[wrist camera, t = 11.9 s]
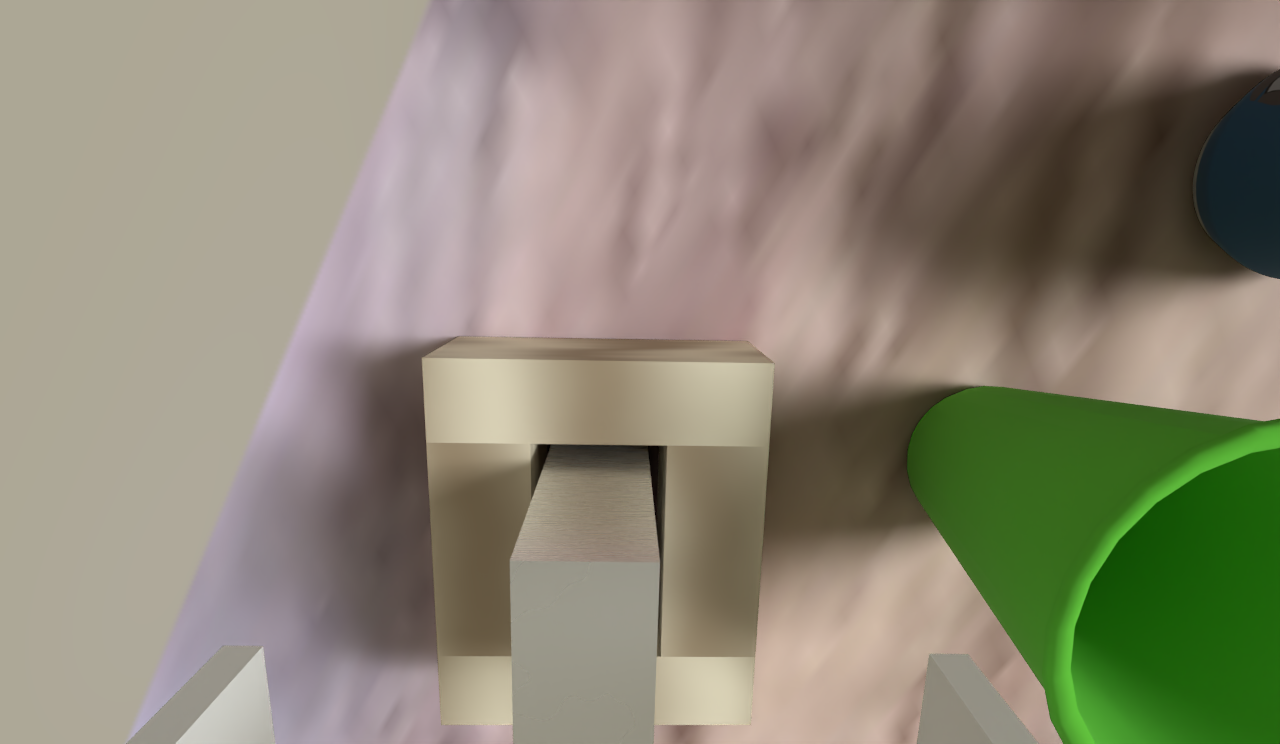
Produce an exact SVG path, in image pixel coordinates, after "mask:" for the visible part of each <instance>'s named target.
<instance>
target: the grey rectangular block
mask: <svg viewBox="0 0 1280 744" xmlns="http://www.w3.org/2000/svg"><path fill="white" fill-rule="evenodd" d="M659 577H660V558H659V548H658V539H657V530H656V521H655V511H654V502H653V493H652V484H651V474H650V465H649V456H648V446H647V445H581V444H552V445H551V447H550V450H549V453H548V456H547V459H546V461H545V464H544V467H543V470H542V472H541V475H540V478H539V481H538V484H537V486H536V489H535V492H534V495H533V497H532V500H531V503H530V506H529V508H528V511H527V514H526V517H525V520H524V522H523V525H522V528H521V531H520V533H519V536H518V539H517V542H516V545H515V547H514V550H513V553H512V556H511V558H510V603H511V657H512V710H513V744H654V717H655V689H656V661H657V633H658V605H659Z"/></svg>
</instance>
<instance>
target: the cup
mask: <svg viewBox="0 0 1280 744" xmlns="http://www.w3.org/2000/svg"><path fill="white" fill-rule="evenodd" d="M907 472H908V477H909V481H910V486H911V488H912V490H913V492H914V493H915V495H916V497H917V499H918V501H919V502H920V504H921V505H922V507H923V508H924V510H925V511H926V513H927V514H928V516H929V517H930V519H931V520H932V522H933V523H934V525H935V526H936V528H937V529H938V531H939V532H940V534H941V535H942V537H943V538H944V540H945V541H946V543H947V544H948V546H949V547H950V549H951V550H952V552H953V553H954V555H955V556H956V558H957V559H958V561H959V562H960V564H961V565H962V567H963V568H964V570H965V571H966V573H967V574H968V576H969V577H970V579H971V580H972V582H973V583H974V585H975V586H976V588H977V589H978V591H979V592H980V594H981V595H982V597H983V598H984V600H985V601H986V603H987V604H988V606H989V607H990V609H991V610H992V612H993V613H994V615H995V616H996V618H997V619H998V621H999V622H1000V624H1001V625H1002V626H1003V628H1004V629H1005V631H1006V632H1007V634H1008V635H1009V637H1010V638H1011V640H1012V641H1013V643H1014V644H1015V646H1016V647H1017V649H1018V650H1019V652H1020V653H1021V655H1022V656H1023V658H1024V659H1025V661H1026V662H1027V664H1028V665H1029V667H1030V668H1031V670H1032V671H1033V673H1034V674H1035V676H1036V677H1037V679H1038V680H1039V682H1040V683H1041V685H1042V686H1043V688H1044V689H1045V694H1046V699H1047V704H1048V709H1049V714H1050V719H1051V721H1052V723H1053V725H1054V727H1055V729H1056V731H1057V733H1058V734H1059V736H1060V738H1061V740H1062V742H1063V744H1280V419H1276V420H1270V421H1257V420H1249V419H1242V418H1234V417H1226V416H1219V415H1211V414H1204V413H1196V412H1188V411H1181V410H1173V409H1166V408H1158V407H1150V406H1143V405H1135V404H1127V403H1120V402H1112V401H1105V400H1097V399H1089V398H1082V397H1074V396H1066V395H1059V394H1051V393H1044V392H1036V391H1028V390H1021V389H1013V388H1006V387H993V386H981V387H976V388H970V389H966V390H963V391H961V392H958V393H956V394H954V395H951V396H949V397H946V398H944V399H943V400H942V401H940V402H939V403H937V404H936V405H935V406H933V407H932V408H931V409H930V410H929V411H928V412H927V413H926V414H925V415H924V416H923V417H922V419H921V420H920V421H919V423H918V425H917V426H916V428H915V430H914V432H913V433H912V436H911V440H910V443H909V447H908V454H907Z"/></svg>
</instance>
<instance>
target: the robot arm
mask: <svg viewBox="0 0 1280 744" xmlns="http://www.w3.org/2000/svg"><path fill="white" fill-rule="evenodd" d="M126 744H275V738H274V730H273V722H272V714H271V706H270V698H269V690H268V683H267V675H266V667H265V659H264V651H263V646H223V647H222V648H221V649H220V650H219V651H218V652H217V653H216V654H215V655H214V656H213V657H212V658H211V659H210V660H209V661H208V662H207V663H206V664H205V665H204V666H203V667H202V668H201V669H200V670H199V671H198V672H197V673H196V674H195V675H194V676H193V677H192V678H191V679H190V680H189V681H188V682H187V683H186V684H185V685H184V686H183V687H182V688H181V689H180V690H179V691H178V692H177V693H176V694H175V695H174V696H173V697H172V698H171V699H170V700H169V701H168V702H167V703H166V704H165V705H164V706H163V707H162V708H161V709H160V710H159V711H158V712H157V713H156V714H155V715H154V716H153V717H152V718H151V719H150V720H149V721H148V722H147V723H146V724H145V725H144V726H143V727H142V728H141V729H140V730H139V731H138V732H137V733H136V734H135V735H134V736H133V737H132V738H131V739H130V740H129V741H128V742H127V743H126ZM917 744H1039V743H1038V742H1037V741H1036V740H1035V738H1034V737H1033V736H1032V735H1031V733H1030V732H1029V731H1028V730H1027V728H1026V727H1025V726H1024V725H1023V723H1022V722H1021V721H1020V720H1019V718H1018V717H1017V716H1016V715H1015V713H1014V712H1013V711H1012V709H1011V708H1010V707H1009V706H1008V704H1007V703H1006V702H1005V701H1004V699H1003V698H1002V697H1001V696H1000V694H999V693H998V692H997V691H996V689H995V688H994V687H993V686H992V684H991V683H990V682H989V680H988V679H987V678H986V677H985V675H984V674H983V673H982V672H981V670H980V669H979V668H978V667H977V665H976V664H975V663H974V662H973V660H972V659H971V658H970V657H969V655H968V654H929V660H928V667H927V674H926V681H925V689H924V696H923V703H922V710H921V717H920V725H919V732H918V739H917Z"/></svg>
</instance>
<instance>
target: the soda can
mask: <svg viewBox="0 0 1280 744" xmlns="http://www.w3.org/2000/svg"><path fill="white" fill-rule="evenodd" d="M1193 201H1194V207H1195V210H1196V214H1197V217H1198V219H1199V221H1200V223H1201V225H1202V227H1203V229H1204V230H1205V231H1206V233H1207V234H1208V235H1209V236H1210V238H1211V239H1212V240H1213V241H1214V242H1216V243H1217V244H1218V245H1219V246H1220V247H1221V248H1222V249H1223V250H1224V251H1225V252H1226V253H1227V254H1229V255H1230V256H1231V257H1232V258H1233V259H1235V260H1236V261H1237V262H1239V263H1240V264H1242V265H1243V266H1245V267H1247V268H1249V269H1251V270H1253V271H1255V272H1257V273H1260V274H1262V275H1265V276H1269V277H1273V278H1277V279H1280V69H1279V70H1278V71H1276V72H1274V73H1273V74H1271V75H1270V76H1268V77H1267V78H1266V79H1264V80H1263V81H1262V82H1260V83H1259V84H1258V85H1257V86H1255V87H1254V88H1253V89H1252V90H1251V91H1250V92H1248V93H1247V94H1246V95H1245V96H1244V97H1243V98H1242V99H1241V100H1240V101H1239V102H1238V103H1237V104H1236V105H1235V106H1234V107H1233V108H1232V109H1231V110H1230V111H1229V112H1228V113H1227V114H1226V115H1225V116H1224V117H1223V118H1222V119H1221V120H1220V121H1219V123H1218V124H1217V125H1216V126H1215V128H1214V129H1213V130H1212V132H1211V133H1210V135H1209V136H1208V138H1207V140H1206V142H1205V143H1204V145H1203V147H1202V150H1201V152H1200V154H1199V157H1198V160H1197V163H1196V167H1195V171H1194V177H1193Z"/></svg>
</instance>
